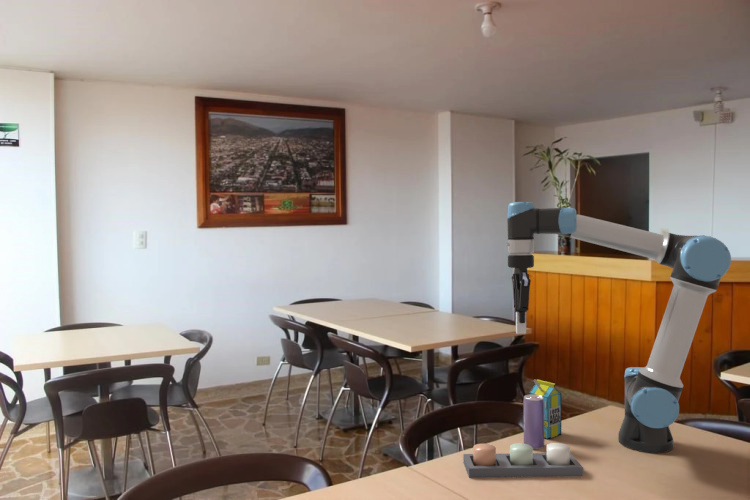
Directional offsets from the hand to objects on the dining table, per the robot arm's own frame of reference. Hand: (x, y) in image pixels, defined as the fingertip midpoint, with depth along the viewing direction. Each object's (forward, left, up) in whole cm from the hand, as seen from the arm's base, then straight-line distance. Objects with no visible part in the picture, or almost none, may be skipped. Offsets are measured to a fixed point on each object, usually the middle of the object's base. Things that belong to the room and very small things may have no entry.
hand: (521, 333), depth 174 cm
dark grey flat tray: (+4, +16, -34) cm, 38 cm away
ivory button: (-6, +16, -33) cm, 37 cm away
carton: (-10, -11, -35) cm, 38 cm away
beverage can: (-4, -1, -35) cm, 35 cm away
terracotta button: (+14, +16, -33) cm, 40 cm away
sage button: (+4, +16, -33) cm, 37 cm away
